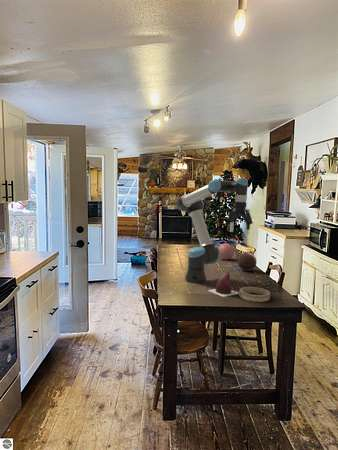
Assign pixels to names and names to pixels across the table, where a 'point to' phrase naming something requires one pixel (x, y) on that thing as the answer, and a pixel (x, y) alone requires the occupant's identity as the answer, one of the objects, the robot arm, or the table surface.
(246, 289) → the segmented wooden ring
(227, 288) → the vegetable
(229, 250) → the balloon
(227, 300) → the table surface
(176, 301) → the table surface
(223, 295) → the white mat
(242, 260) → the wooden sphere
